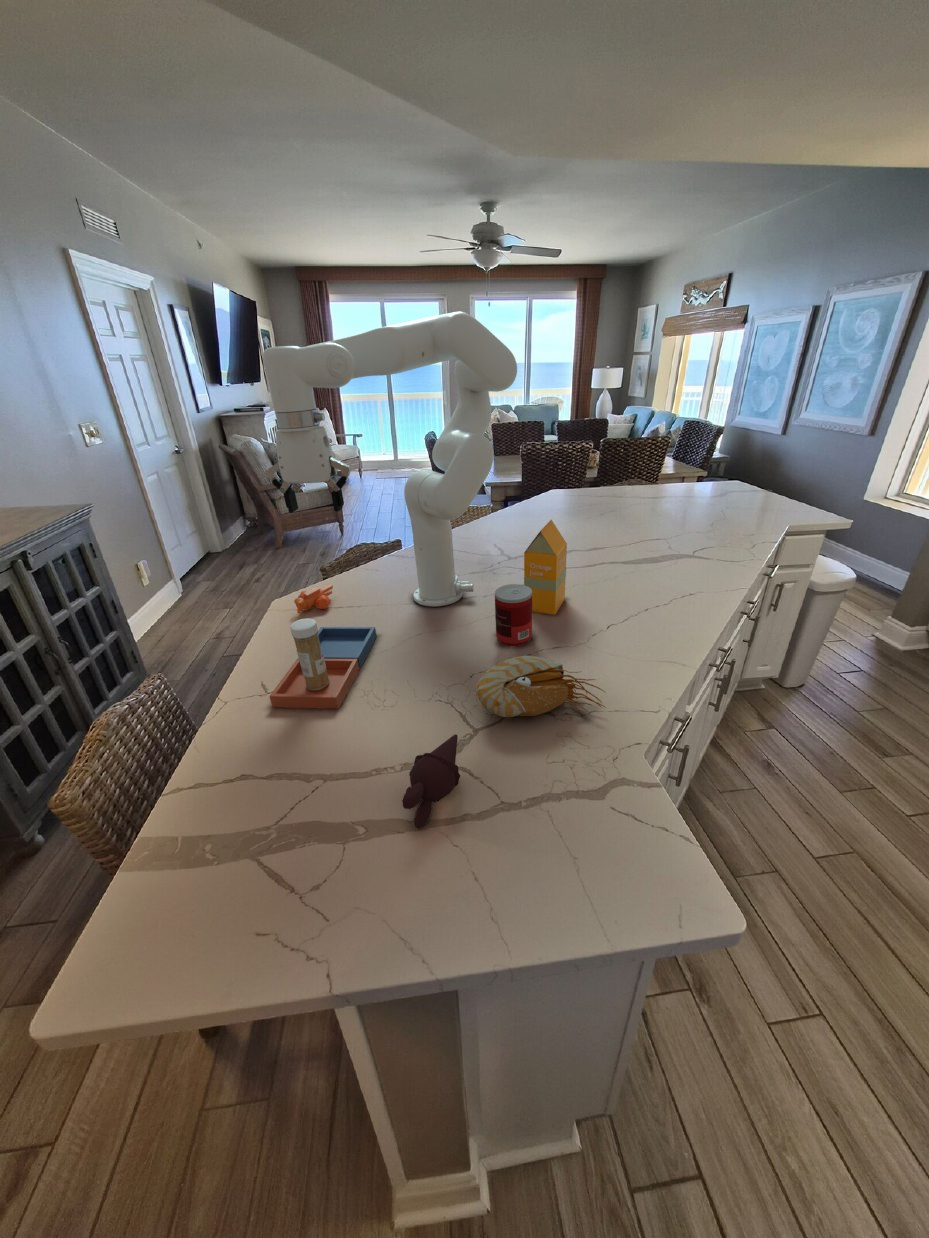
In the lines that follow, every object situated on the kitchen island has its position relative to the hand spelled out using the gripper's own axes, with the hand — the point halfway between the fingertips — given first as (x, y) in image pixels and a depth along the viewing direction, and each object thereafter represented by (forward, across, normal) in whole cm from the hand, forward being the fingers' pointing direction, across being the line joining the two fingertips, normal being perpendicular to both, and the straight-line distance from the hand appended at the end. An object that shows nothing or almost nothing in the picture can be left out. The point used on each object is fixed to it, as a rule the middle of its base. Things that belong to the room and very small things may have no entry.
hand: (316, 510), depth 101 cm
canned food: (+28, -40, +3) cm, 49 cm away
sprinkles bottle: (+28, -3, +22) cm, 36 cm away
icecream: (+28, -30, +46) cm, 62 cm away
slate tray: (+28, -3, +9) cm, 30 cm away
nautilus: (+28, -45, +27) cm, 60 cm away
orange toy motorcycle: (+28, +10, -12) cm, 32 cm away
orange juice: (+28, -47, -13) cm, 56 cm away
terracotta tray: (+28, -3, +22) cm, 36 cm away
